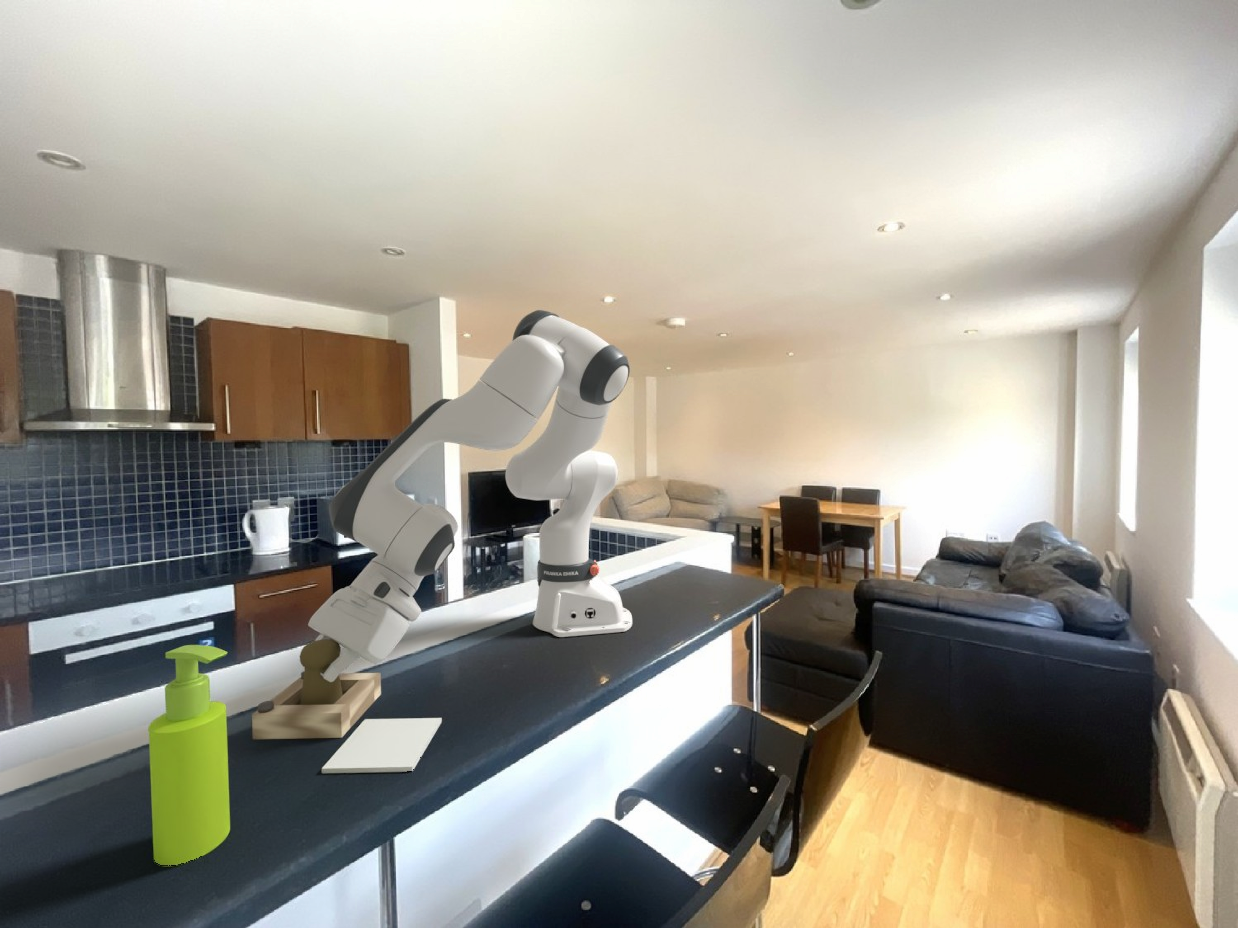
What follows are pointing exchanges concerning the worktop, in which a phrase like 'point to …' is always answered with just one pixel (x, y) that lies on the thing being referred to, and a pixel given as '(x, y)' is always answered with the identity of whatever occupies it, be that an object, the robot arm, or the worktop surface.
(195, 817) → the soap dispenser
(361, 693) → the sleeve block
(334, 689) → the brown pawn
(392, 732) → the white mat
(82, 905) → the worktop surface
